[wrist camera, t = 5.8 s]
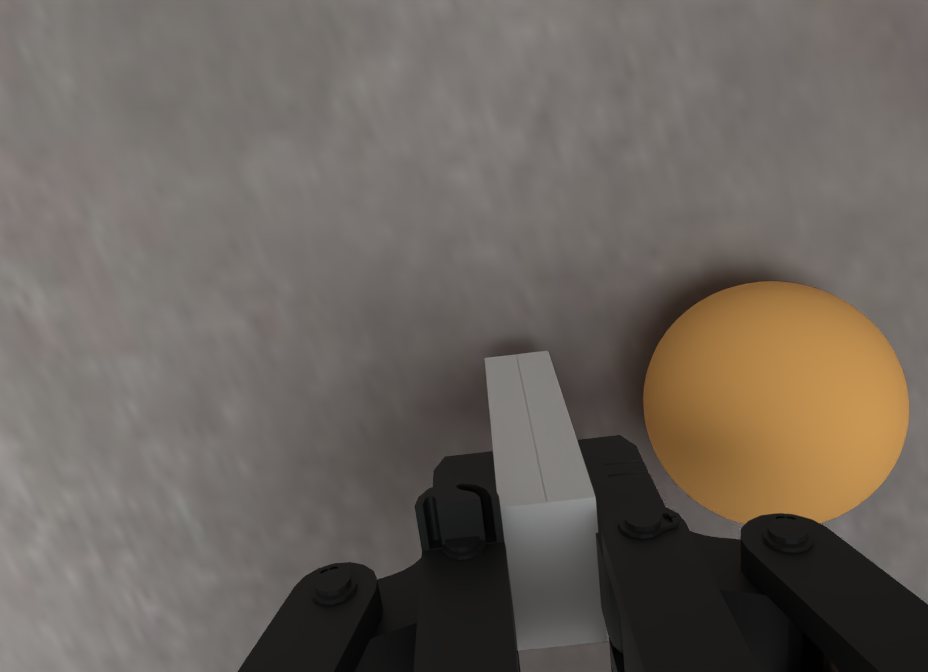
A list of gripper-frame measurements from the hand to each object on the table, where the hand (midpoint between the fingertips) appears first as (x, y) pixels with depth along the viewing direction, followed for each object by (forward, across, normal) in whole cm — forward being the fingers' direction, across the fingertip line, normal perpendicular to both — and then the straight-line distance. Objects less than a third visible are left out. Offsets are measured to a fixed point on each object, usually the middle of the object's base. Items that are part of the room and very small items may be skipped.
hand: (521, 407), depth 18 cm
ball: (-1, -6, 0) cm, 6 cm away
